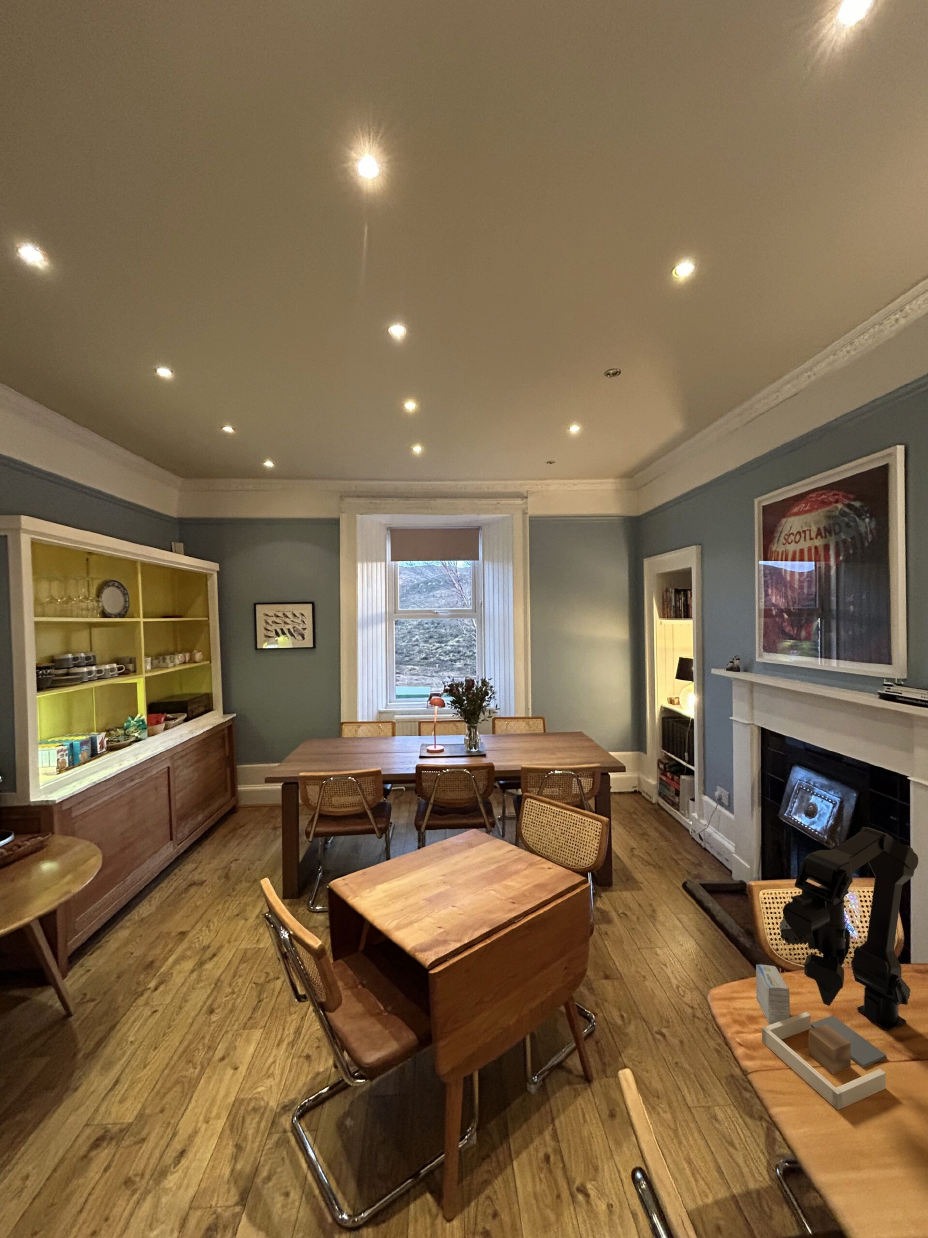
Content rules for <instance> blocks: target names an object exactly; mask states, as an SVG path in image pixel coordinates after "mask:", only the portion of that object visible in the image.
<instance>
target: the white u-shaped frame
mask: <svg viewBox="0 0 928 1238" xmlns="http://www.w3.org/2000/svg"><path fill="white" fill-rule="evenodd" d="M811 1020H812V1018H811V1014H810V1013H809V1012H808V1011H804V1012H802V1013H799V1014H796V1015H793V1016H790V1018H788V1019H785V1020H782V1021H779V1022H776V1023H774V1024H771V1025H769V1024H768V1025H765V1026H763V1027H761V1042H762V1043H763V1044H764V1045H765V1046H766V1047H767V1048H768V1049H769V1050H770V1051H772V1052H773V1053H774V1054H775V1055H776V1056H777V1057H778V1058H779V1059H781V1060H782V1062H784V1063H785V1064H786V1065H787V1066H788V1067H789V1068H791V1070H793V1071H794V1072H795V1073H796V1074H798V1076H799V1077H800V1078H802V1080H804V1081H805V1082H806V1083H807V1084H808V1085H809V1086H810V1087H811V1088H813V1089H814V1090H815V1092H817V1093H818V1094H819V1095H821V1097H822V1098H823V1099H824V1100H826V1101H827V1102H828V1103H829V1104H830V1105H832V1107H834V1109H836V1110H837V1111H839V1110H841V1109H844V1108H847V1107H848V1106H850V1105H853V1104H855V1103H857V1102H859V1101H861V1100H864V1099H865V1098H868V1097H870V1096H872V1095H874V1094H876V1093H879V1092H880V1091H881V1092H882V1091H884V1090H885V1089H887V1088H886V1086H887V1082H886V1080H887V1079H886V1078H887V1077H886V1076H887V1073H886V1072H885V1071H884V1070H883V1069H881V1068H877V1069H876V1070H873V1071H871V1072H869V1073H867V1074H865V1075H862V1076H860V1077H858V1078H855V1079H853V1080H851V1081H848V1082H847V1083H844V1084H841V1085H839V1086H837V1087H836V1086H834V1084H832V1083H831V1081H829V1080H828V1079H827V1078H826V1077H825V1076H824V1075H822V1074H821V1073H820V1072H818V1071H817V1070H816V1069H815V1068H814V1067H813V1066H811V1065H810V1064H809V1063H808V1062H807V1061H806V1060H804V1058H803V1057H801V1056H800V1055H799V1054H798V1053H797V1052H796V1051H794V1050H793V1049H792V1048H791V1047H789V1045H787V1043H785V1042H784V1041H783V1040H785V1039H787V1038H789V1037H792V1036H794V1035H798V1034H800V1033H802V1032H806V1031H809V1030H812V1027H811V1023H812V1021H811Z"/></svg>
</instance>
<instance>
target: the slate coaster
mask: <svg viewBox="0 0 928 1238" xmlns="http://www.w3.org/2000/svg"><path fill="white" fill-rule="evenodd" d="M825 1024H827V1025H828V1026H829V1027H830V1028H832V1029H833V1030H834V1031H836V1032H837V1033H838V1034H840V1035H841V1036H842V1037H844V1038H845V1039H846V1040H847V1041H849V1042H850V1043H851V1061H854V1062H855V1064H857V1065H858V1066H859V1067H860V1068H862V1069H864V1068H866V1067H868V1066H870V1065H871V1066H872V1065H873V1064H875V1063H878V1062H879V1061H882V1060H884V1059H887V1054H886V1053H885V1052H883V1051H882V1050H880V1049H879V1048H877V1047H876V1046H875V1045H874V1044H872V1043H871V1042H870V1041H868V1040H867V1039H865V1038H864V1037H863V1036H861V1035H860V1034H859V1033H857V1032H856V1031H855V1030H853V1028H851V1027H850V1026H848V1025H847V1024H845V1023H844V1022H843V1021H841V1020H840V1019H838V1017H835V1016H834V1015H833V1014H832V1015H829V1016H827V1017H824V1018H822V1019H819V1020H816V1021H814V1022H811V1029H814V1028H817V1027H820V1026H822V1025H825Z"/></svg>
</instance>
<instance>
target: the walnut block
mask: <svg viewBox="0 0 928 1238" xmlns="http://www.w3.org/2000/svg"><path fill="white" fill-rule="evenodd" d="M809 1055H810V1057H812V1058H813V1059H814V1060H815V1061H817V1062H818V1064H819V1065H821V1066H822V1067H824V1069H826V1070H827V1071H828V1072H830V1074H832V1075H836V1074H837V1073H840V1072H842V1071H844V1070H847V1069H849V1068H851V1063H852V1059H851V1043H850V1042H849V1041H847V1040H846V1039H845V1038H844V1037H842V1036H841V1035H840V1034H838V1033H837V1032H836V1031H834V1030H833V1029H832V1028H830V1027H829V1026H828V1025H827V1024H825V1025H822V1026H820V1027H817V1028H814V1029H813V1028H811V1029H808V1056H809Z"/></svg>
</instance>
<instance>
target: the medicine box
mask: <svg viewBox="0 0 928 1238" xmlns="http://www.w3.org/2000/svg"><path fill="white" fill-rule="evenodd" d="M755 969H756V970H755V978H756V979H755V980H756V983H755V985H756V987H755V988H756V993H755V994H756V1001H757V1003H758V1004H759V1006H760V1008H761V1011H762V1012H763V1015H764V1016H765V1018H766V1020H767V1022H768V1025H771V1024H774V1023H776V1022H779V1021H782V1020H785V1019H788V1018H790V1017H791V1004H790V1003H791V1001H790V998H791V996H790V994H791V993H790V989H789V987H788V985H787V983H786V982H785V980H784V978H783V977H782V975H781V973H780V971H779V969H778V968H777V967H776V966H775V965H769V964H768V965H767V964H756V967H755Z"/></svg>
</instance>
